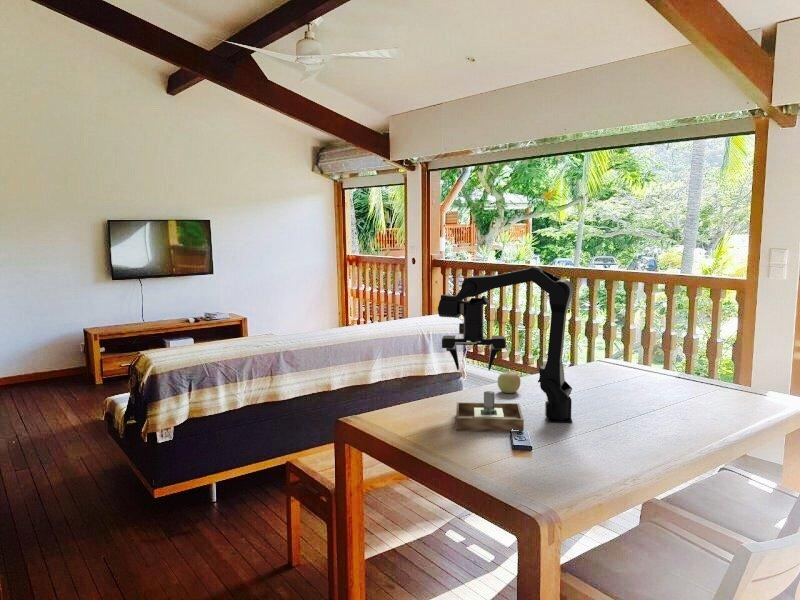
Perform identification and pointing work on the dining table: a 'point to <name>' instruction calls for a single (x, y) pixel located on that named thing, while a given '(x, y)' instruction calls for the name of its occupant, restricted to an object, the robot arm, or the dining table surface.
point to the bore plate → (479, 414)
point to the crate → (506, 424)
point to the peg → (489, 403)
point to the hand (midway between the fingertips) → (473, 370)
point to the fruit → (508, 382)
